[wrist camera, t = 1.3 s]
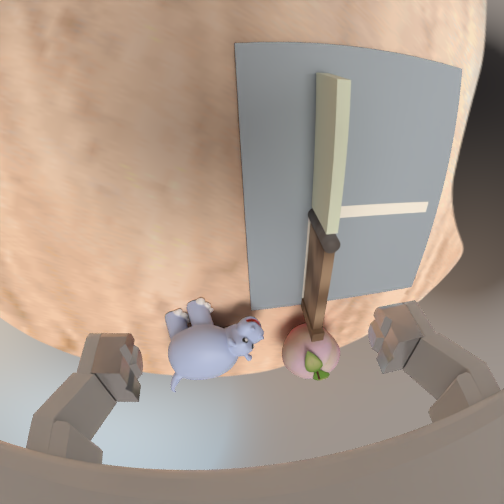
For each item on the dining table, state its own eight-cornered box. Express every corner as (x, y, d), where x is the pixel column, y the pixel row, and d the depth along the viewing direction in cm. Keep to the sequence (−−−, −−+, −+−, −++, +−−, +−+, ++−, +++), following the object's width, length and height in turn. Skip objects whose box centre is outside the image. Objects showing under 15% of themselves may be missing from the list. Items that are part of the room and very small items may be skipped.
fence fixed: (308, 207, 35) (325, 241, 29) (323, 206, 35) (343, 240, 29) (300, 305, 44) (310, 342, 39) (312, 304, 45) (324, 340, 39)
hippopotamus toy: (272, 321, 47) (283, 374, 39) (193, 354, 50) (193, 403, 43) (235, 278, 41) (242, 337, 33) (150, 320, 44) (143, 374, 36)
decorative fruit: (265, 325, 47) (275, 381, 39) (311, 300, 45) (330, 356, 37) (295, 349, 52) (306, 399, 44) (336, 327, 50) (354, 377, 42)
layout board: (234, 43, 23) (234, 43, 23) (459, 68, 25) (462, 69, 24) (251, 308, 44) (251, 310, 44) (410, 285, 46) (411, 287, 45)
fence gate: (321, 205, 34) (337, 233, 30) (311, 206, 34) (326, 234, 30) (328, 73, 25) (351, 79, 21) (316, 72, 25) (337, 79, 21)
